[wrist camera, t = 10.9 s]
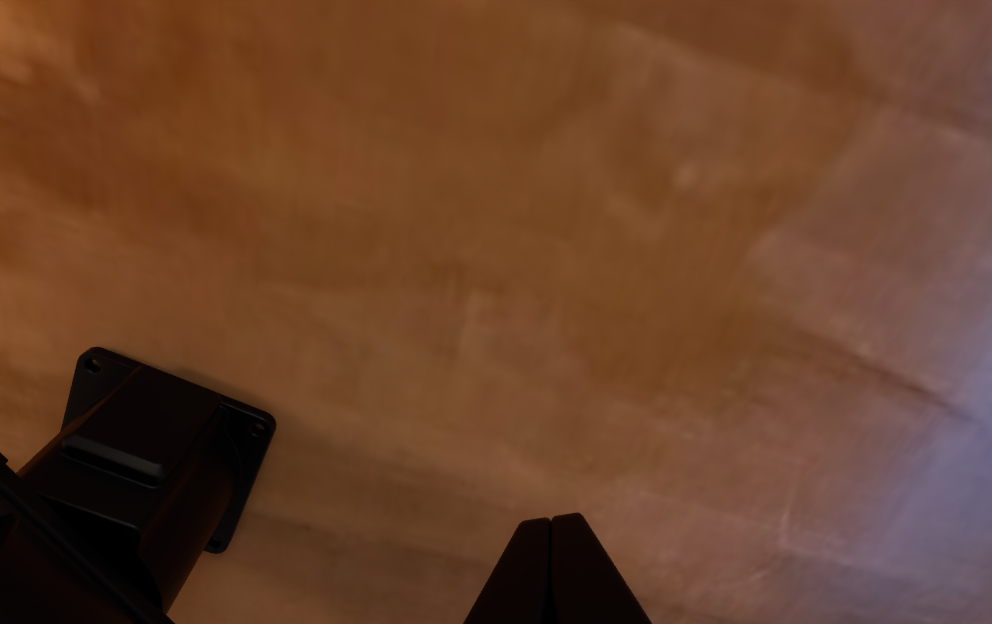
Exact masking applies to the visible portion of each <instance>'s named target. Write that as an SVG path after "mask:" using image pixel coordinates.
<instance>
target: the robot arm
mask: <svg viewBox="0 0 992 624" xmlns="http://www.w3.org/2000/svg"><path fill="white" fill-rule="evenodd" d="M93 360H96V361H97V362H99V364H100V365H101V367H98V366H97V365H95V364H94V362H93ZM255 424H261V425H262V426H263V427H264V428H265V429H264V430H263V429H259V428H257V427H256V426H255ZM275 430H276V421H275V419H274V418H273V416H272V415H270V414H269V413H267V412H265V411H262V410H260V409H257V408H255V407H252V406H250V405H247V404H244V403H242V402H239V401H237V400H234V399H232V398H229V397H227V396H224V395H221V394H219V393H216V392H214V391H212V390H209V389H207V388H204V387H202V386H199V385H197V384H194V383H191V382H189V381H186V380H184V379H181V378H179V377H176V376H174V375H171V374H168V373H166V372H163V371H161V370H158V369H156V368H153V367H151V366H148V365H145V364H142V363H140V362H137V361H135V360H132V359H130V358H127V357H124V356H122V355H119V354H117V353H114V352H112V351H109V350H107V349H104V348H100V347H92V348H90V349H88V350H87V351H86V352H84V353H83V354H82V355H81V356H80V357H79V359H78V361H77V365H76V369H75V373H74V377H73V382H72V386H71V390H70V394H69V398H68V403H67V407H66V411H65V415H64V419H63V424H62V428H61V432H60V433H59V434H58V435H57V436H56V437H55V438H53V439H52V440H51V441H50V442H49V443H48V444H47V445H46V446H45V447H44V448H43V449H42V450H40V451H39V452H38V453H37V454H36V455H35V456H34V457H33V458H32V459H31V460H30V461H29V462H28V463H26V464H25V465H24V466H23V467H22V468H21V469H20V470H19V471H18V472H17V473H15V472H14V471H13V470H11V469H10V468H9V467H8V466H7V465H6V463H7V462H8V459H6V458H5V457H4V456H3V455H2V454H1V453H0V624H175V623H174V622H173V621H172V620H171V619H170V618H169V617H168V616H167V615H166V614H167V612H168V611H169V609H170V607H171V606H172V604H173V602H174V600H175V599H176V597H177V595H178V593H179V592H180V590H181V588H182V586H183V585H184V583H185V581H186V579H187V578H188V576H189V574H190V573H191V571H192V569H193V567H194V566H195V564H196V562H197V560H198V559H199V557H200V555H201V553H202V552H203V550H204V551H207V552H210V553H214V554H218V553H222V552H224V551H225V550H226V549H227V547H228V545H229V543H230V541H231V539H232V537H233V534H234V532H235V529H236V527H237V524H238V522H239V519H240V517H241V514H242V512H243V509H244V507H245V504H246V502H247V499H248V497H249V494H250V492H251V489H252V487H253V484H254V482H255V479H256V477H257V474H258V472H259V469H260V467H261V464H262V462H263V459H264V457H265V455H266V452H267V450H268V447H269V445H270V442H271V440H272V437H273V435H274V432H275ZM213 538H216V539H217V540H215V539H213ZM218 540H219V541H218ZM463 624H652V623H651V621H650V619H649V618H648V616H647V615H646V613H645V612H644V610H643V609H642V607H641V605H640V604H639V602H638V601H637V599H636V598H635V596H634V595H633V593H632V591H631V590H630V588H629V587H628V585H627V584H626V582H625V581H624V579H623V577H622V576H621V574H620V573H619V571H618V570H617V568H616V566H615V565H614V563H613V562H612V560H611V559H610V557H609V556H608V554H607V552H606V551H605V549H604V548H603V546H602V545H601V543H600V542H599V540H598V538H597V537H596V535H595V534H594V532H593V531H592V529H591V528H590V526H589V524H588V523H587V521H586V520H585V518H584V517H583V516H582V515H581V514H580V513H571V514H564V515H558V516H554V517H553V518H552V521H551V520H550V519H549V518H546V517H544V518H538V519H531V520H525V521H522V522H521V523H520V524H519V525H518V527H517V529H516V531H515V532H514V534H513V536H512V538H511V540H510V541H509V543H508V545H507V547H506V548H505V550H504V552H503V554H502V556H501V557H500V559H499V561H498V563H497V564H496V566H495V568H494V570H493V571H492V573H491V575H490V577H489V579H488V580H487V582H486V584H485V586H484V587H483V589H482V591H481V593H480V595H479V596H478V598H477V600H476V602H475V603H474V605H473V607H472V609H471V611H470V612H469V614H468V616H467V618H466V619H465V621H464V623H463Z"/></svg>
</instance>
